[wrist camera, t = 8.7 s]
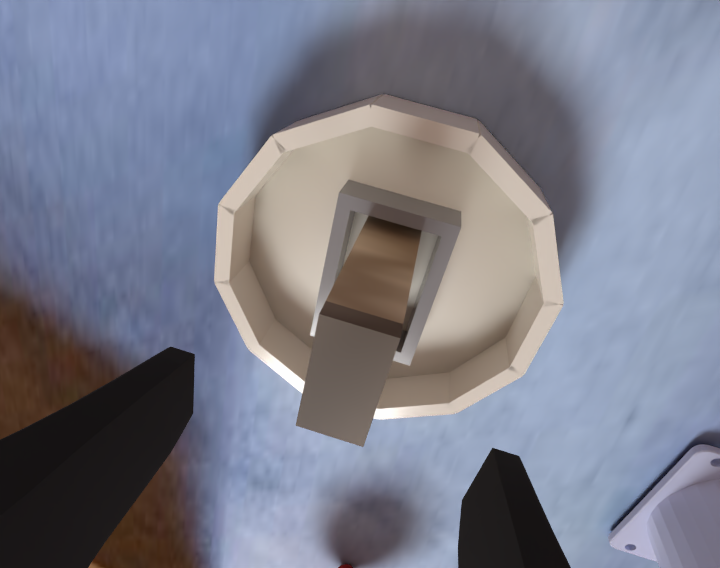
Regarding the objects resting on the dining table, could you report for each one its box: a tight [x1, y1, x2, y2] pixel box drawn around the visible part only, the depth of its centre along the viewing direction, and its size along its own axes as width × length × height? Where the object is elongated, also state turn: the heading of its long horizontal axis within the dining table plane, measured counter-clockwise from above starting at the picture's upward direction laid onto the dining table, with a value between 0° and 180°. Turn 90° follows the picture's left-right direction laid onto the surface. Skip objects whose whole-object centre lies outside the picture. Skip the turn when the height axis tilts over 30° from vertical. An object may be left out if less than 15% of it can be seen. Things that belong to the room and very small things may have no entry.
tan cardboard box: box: [296, 216, 422, 447], centre depth 14 cm, size 2×4×7 cm, turn 168°
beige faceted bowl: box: [214, 94, 564, 420], centre depth 17 cm, size 12×12×2 cm
